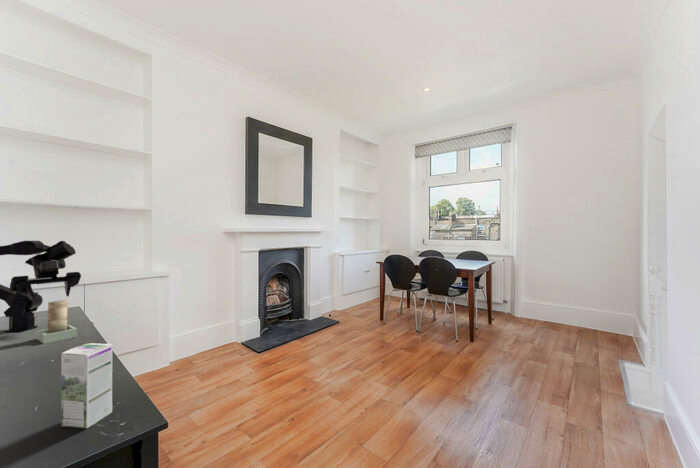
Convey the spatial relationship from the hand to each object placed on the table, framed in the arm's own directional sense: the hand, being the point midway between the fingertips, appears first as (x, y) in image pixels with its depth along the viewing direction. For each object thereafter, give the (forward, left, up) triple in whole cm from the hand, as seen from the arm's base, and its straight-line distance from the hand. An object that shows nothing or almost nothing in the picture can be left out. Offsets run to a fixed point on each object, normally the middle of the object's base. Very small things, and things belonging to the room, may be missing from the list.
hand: (51, 297), depth 111 cm
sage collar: (+7, -5, -14) cm, 16 cm away
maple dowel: (+7, -5, -14) cm, 16 cm away
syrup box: (+58, -54, -14) cm, 81 cm away
